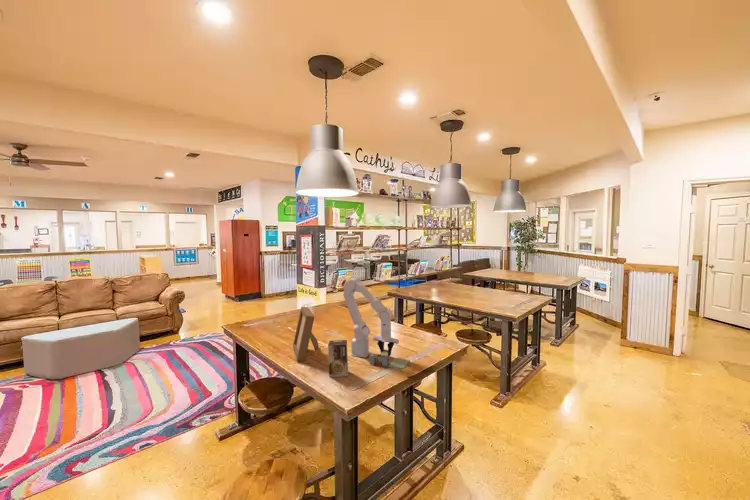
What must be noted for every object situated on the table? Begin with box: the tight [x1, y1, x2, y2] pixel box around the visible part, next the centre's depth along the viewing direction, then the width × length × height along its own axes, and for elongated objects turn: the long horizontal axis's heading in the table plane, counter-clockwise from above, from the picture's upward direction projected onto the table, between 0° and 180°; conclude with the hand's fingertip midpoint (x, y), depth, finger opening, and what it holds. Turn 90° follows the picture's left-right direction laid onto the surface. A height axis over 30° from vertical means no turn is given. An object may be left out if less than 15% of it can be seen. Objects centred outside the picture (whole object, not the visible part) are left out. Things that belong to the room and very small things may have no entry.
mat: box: [388, 357, 410, 370], centre depth 167 cm, size 8×11×1 cm
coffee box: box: [327, 339, 349, 378], centre depth 156 cm, size 9×6×16 cm
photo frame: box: [292, 306, 319, 362], centre depth 183 cm, size 15×22×25 cm
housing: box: [368, 352, 390, 368], centre depth 166 cm, size 10×3×5 cm, turn 67°
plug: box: [378, 349, 391, 363], centre depth 173 cm, size 4×8×4 cm, turn 158°
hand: (386, 354), depth 176 cm, fingers closed on plug, 3 cm apart
